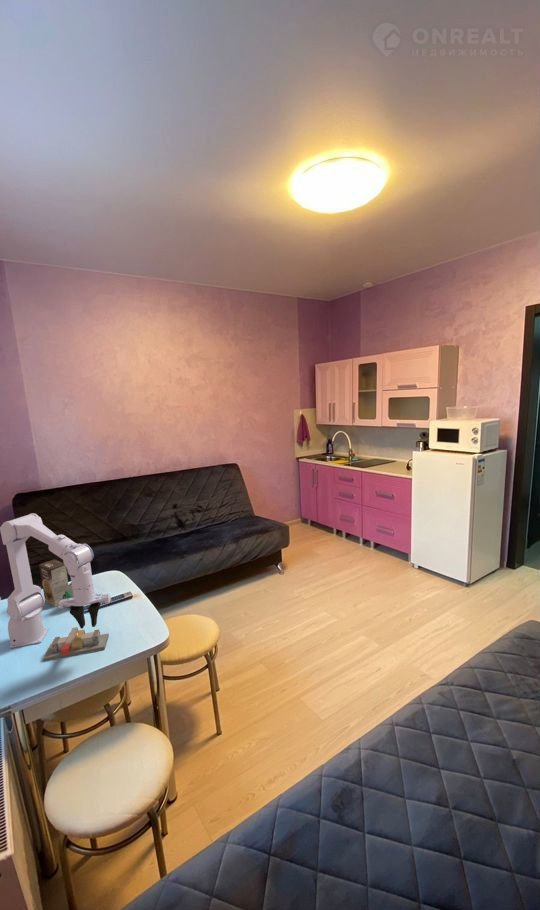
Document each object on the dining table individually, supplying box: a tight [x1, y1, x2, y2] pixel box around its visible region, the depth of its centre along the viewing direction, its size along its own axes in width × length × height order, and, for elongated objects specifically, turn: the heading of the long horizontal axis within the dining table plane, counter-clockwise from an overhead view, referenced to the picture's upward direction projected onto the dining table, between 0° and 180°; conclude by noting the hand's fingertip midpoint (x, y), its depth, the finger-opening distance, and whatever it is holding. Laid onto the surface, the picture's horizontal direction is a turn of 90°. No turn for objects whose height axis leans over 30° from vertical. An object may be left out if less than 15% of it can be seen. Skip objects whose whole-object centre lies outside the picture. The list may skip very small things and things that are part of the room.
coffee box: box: [38, 558, 69, 608], centre depth 155 cm, size 9×6×16 cm
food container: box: [63, 582, 74, 609], centre depth 153 cm, size 12×6×10 cm, turn 168°
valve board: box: [42, 633, 110, 662], centre depth 125 cm, size 18×7×1 cm, turn 103°
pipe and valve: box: [50, 629, 101, 653], centre depth 124 cm, size 14×4×4 cm, turn 103°
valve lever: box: [61, 626, 79, 655], centre depth 119 cm, size 12×2×2 cm, turn 13°
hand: (88, 625), depth 119 cm, fingers open, 3 cm apart
